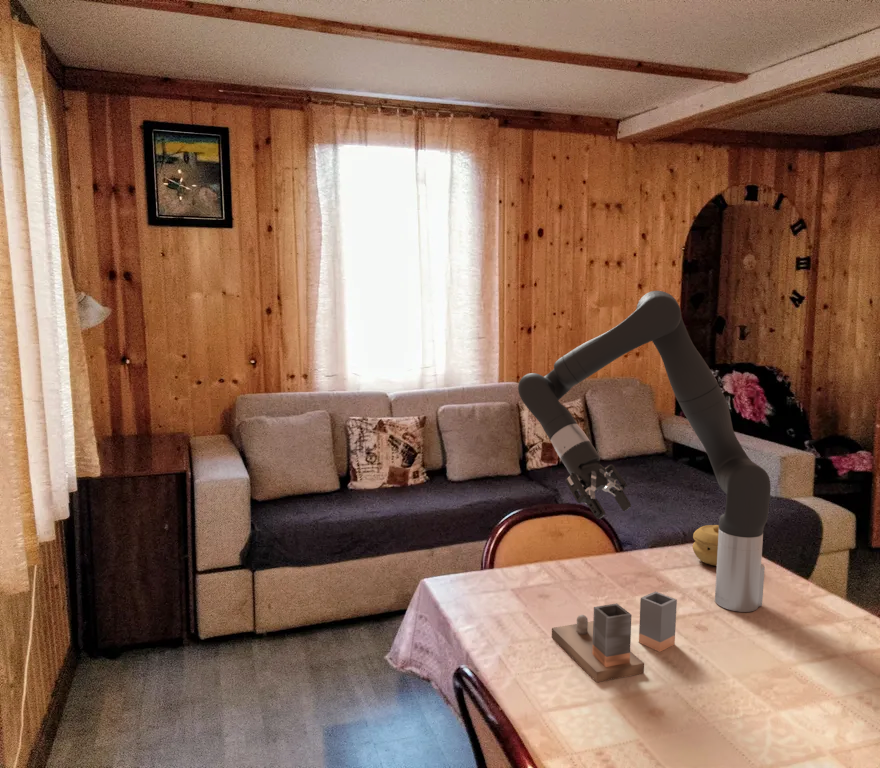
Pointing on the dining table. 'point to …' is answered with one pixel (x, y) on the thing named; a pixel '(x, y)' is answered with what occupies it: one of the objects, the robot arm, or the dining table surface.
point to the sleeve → (657, 621)
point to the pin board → (601, 643)
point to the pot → (706, 544)
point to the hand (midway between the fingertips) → (615, 512)
